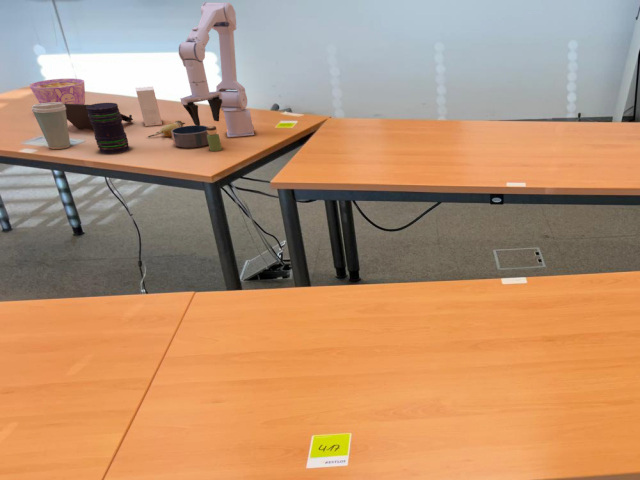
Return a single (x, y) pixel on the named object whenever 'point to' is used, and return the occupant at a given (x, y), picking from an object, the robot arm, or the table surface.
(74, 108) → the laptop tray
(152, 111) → the small box
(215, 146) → the peg doll
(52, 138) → the disposable coffee cup
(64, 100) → the bowl of food
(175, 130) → the bowl
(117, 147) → the dark striped cylinder
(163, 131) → the decorative bird model
